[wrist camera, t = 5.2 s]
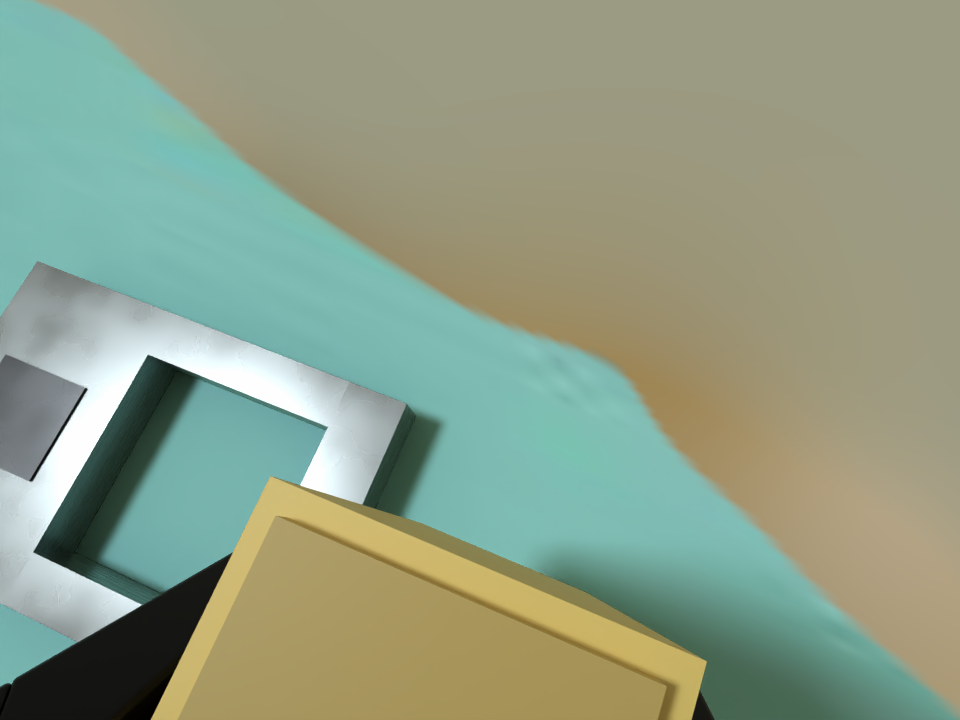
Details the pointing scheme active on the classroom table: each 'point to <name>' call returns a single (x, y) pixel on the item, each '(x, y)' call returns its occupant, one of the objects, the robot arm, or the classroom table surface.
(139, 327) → the grey metal flat frame
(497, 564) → the yellow square block
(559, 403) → the classroom table surface
